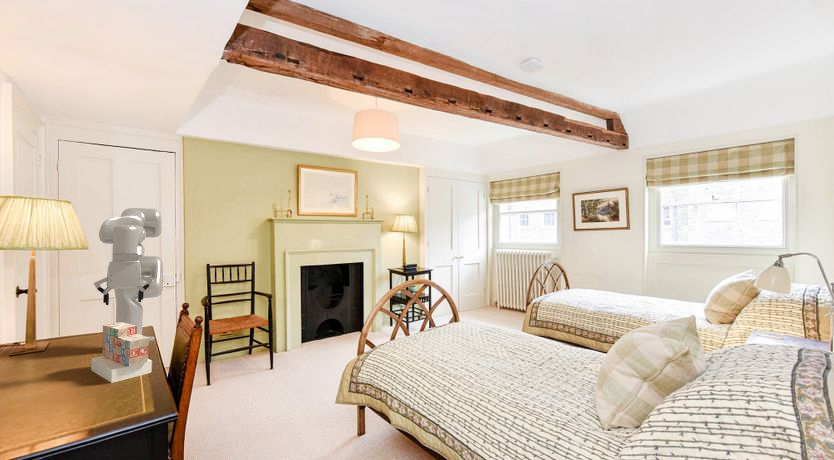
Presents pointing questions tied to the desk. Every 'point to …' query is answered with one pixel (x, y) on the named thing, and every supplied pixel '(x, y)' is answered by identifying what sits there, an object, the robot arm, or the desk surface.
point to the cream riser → (118, 369)
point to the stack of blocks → (124, 344)
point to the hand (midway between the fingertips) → (123, 303)
